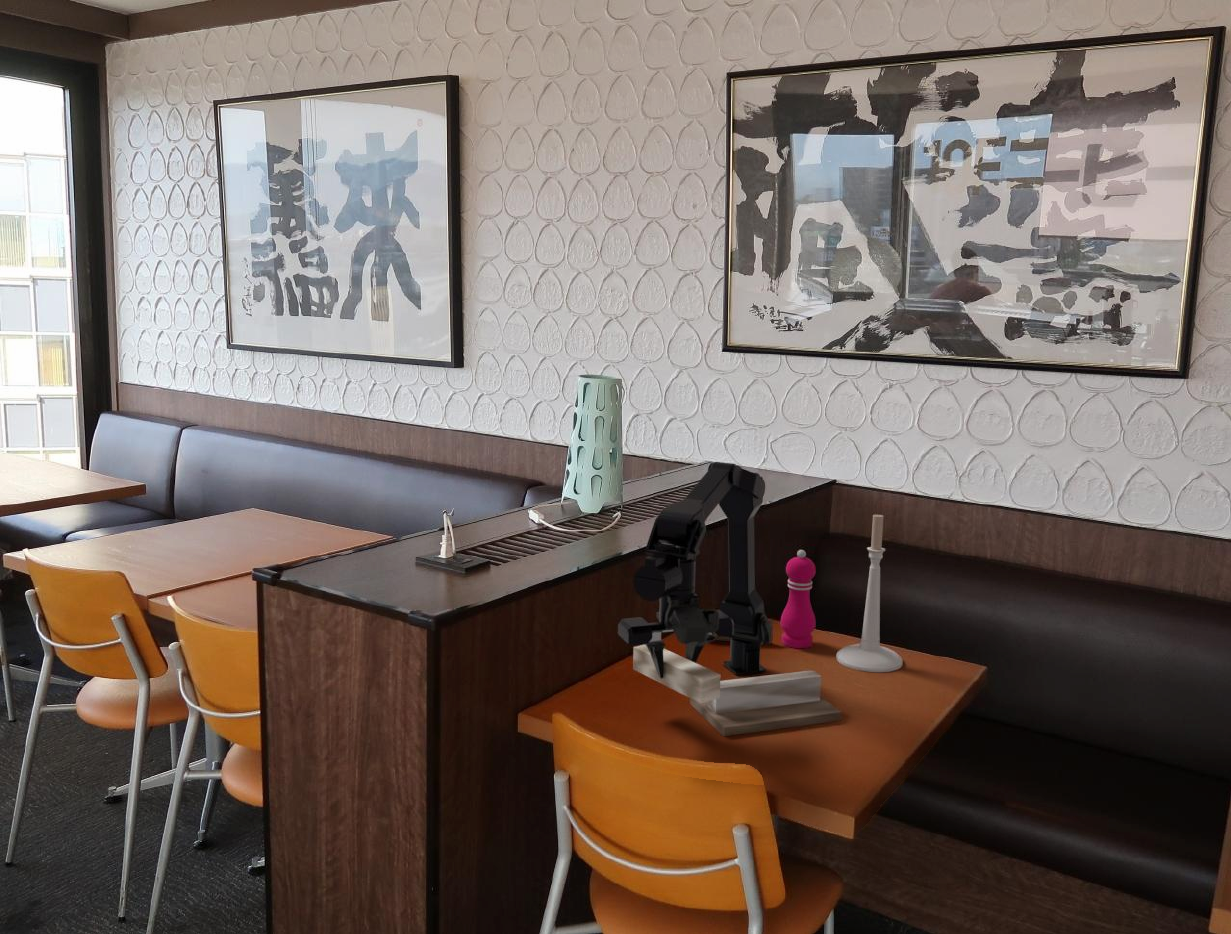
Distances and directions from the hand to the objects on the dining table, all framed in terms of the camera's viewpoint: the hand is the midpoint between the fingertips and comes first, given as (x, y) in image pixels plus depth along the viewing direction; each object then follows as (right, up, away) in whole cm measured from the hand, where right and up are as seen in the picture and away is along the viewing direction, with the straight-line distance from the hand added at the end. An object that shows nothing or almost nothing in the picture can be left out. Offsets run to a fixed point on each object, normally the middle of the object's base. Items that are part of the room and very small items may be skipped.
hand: (674, 676), depth 174 cm
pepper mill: (+28, -2, +43) cm, 51 cm away
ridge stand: (+16, -8, +7) cm, 19 cm away
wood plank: (+15, -2, +43) cm, 46 cm away
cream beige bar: (0, -1, 0) cm, 1 cm away
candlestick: (+41, -4, +33) cm, 53 cm away
